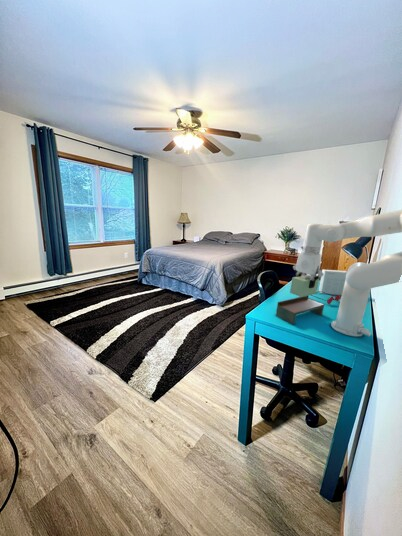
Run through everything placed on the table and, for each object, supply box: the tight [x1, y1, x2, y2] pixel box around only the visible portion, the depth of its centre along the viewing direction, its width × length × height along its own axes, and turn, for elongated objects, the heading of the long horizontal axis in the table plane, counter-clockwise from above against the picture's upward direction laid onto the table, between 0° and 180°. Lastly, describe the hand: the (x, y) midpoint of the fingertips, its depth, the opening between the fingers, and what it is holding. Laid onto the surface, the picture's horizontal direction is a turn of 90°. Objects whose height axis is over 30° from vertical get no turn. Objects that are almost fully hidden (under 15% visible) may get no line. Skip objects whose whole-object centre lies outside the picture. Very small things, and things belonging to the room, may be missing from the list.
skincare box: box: [318, 269, 347, 296], centre depth 146 cm, size 21×5×16 cm, turn 84°
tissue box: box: [289, 274, 320, 297], centre depth 108 cm, size 6×12×9 cm, turn 120°
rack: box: [275, 295, 325, 325], centre depth 111 cm, size 10×24×8 cm, turn 120°
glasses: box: [310, 290, 341, 305], centre depth 136 cm, size 14×16×5 cm
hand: (304, 285), depth 108 cm, fingers closed on tissue box, 6 cm apart
